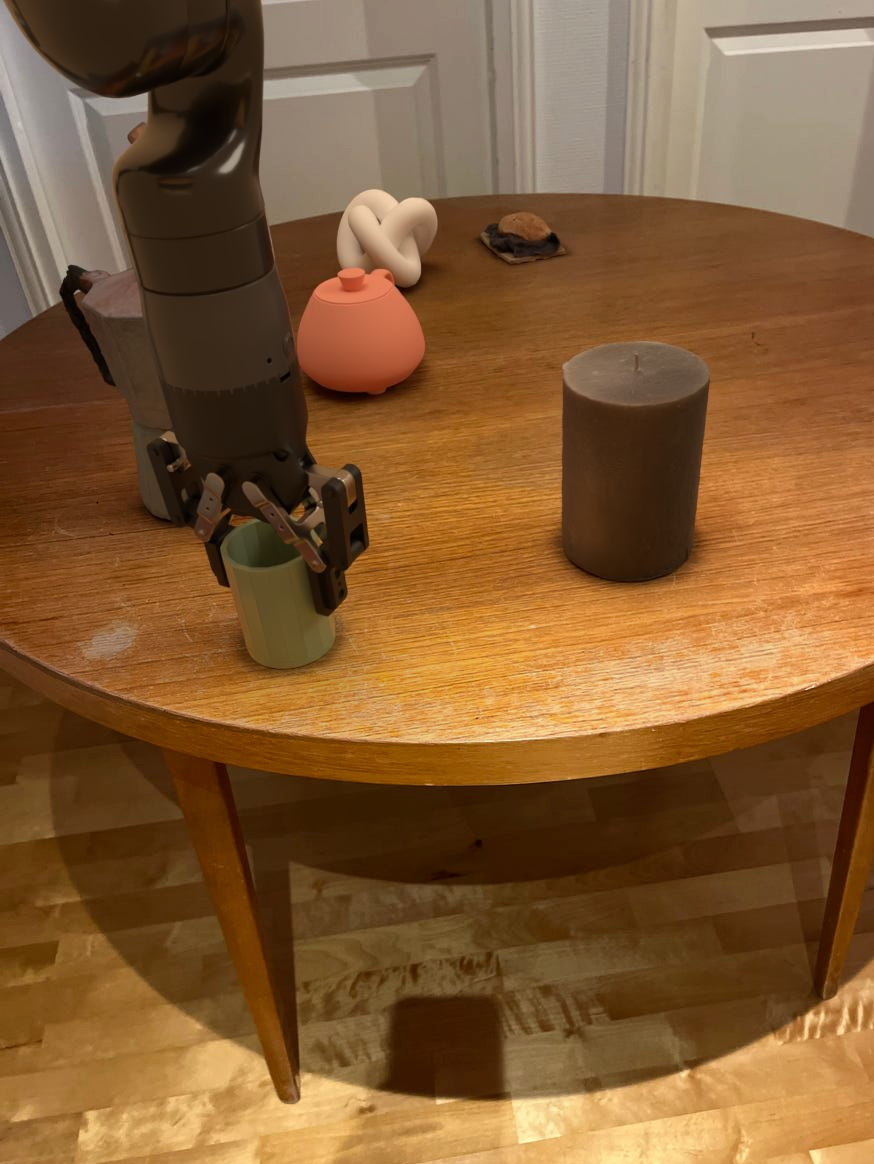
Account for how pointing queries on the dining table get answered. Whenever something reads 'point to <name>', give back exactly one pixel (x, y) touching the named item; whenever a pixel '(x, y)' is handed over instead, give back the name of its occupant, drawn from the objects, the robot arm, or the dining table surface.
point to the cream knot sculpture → (386, 235)
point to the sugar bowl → (359, 333)
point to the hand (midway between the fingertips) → (281, 593)
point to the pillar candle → (632, 457)
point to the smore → (522, 238)
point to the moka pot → (123, 360)
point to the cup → (274, 597)
